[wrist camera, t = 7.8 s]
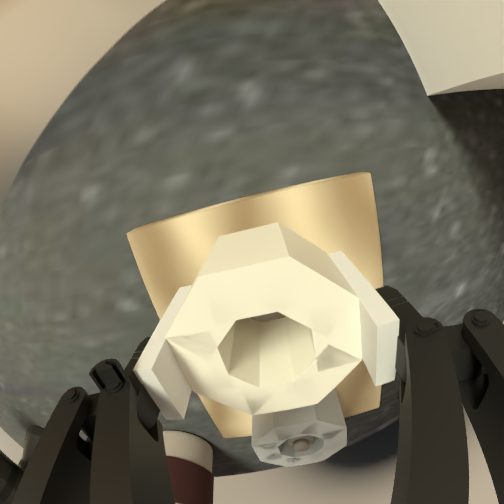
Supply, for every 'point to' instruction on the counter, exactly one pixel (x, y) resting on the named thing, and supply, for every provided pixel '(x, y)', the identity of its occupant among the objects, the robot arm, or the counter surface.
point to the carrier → (255, 215)
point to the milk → (452, 42)
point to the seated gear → (300, 432)
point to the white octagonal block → (267, 323)
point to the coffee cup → (189, 467)
